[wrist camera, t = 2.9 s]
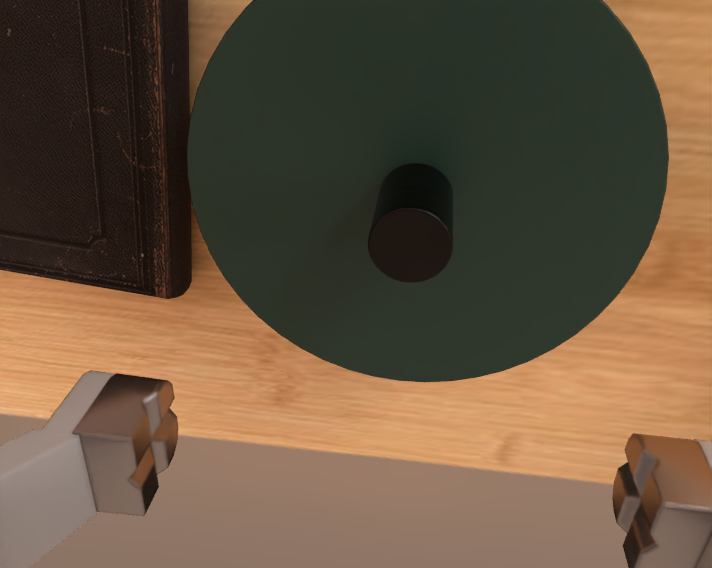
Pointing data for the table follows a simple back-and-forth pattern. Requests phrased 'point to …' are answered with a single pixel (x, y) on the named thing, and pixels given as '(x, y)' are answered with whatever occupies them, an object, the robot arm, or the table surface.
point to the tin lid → (427, 176)
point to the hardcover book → (96, 143)
